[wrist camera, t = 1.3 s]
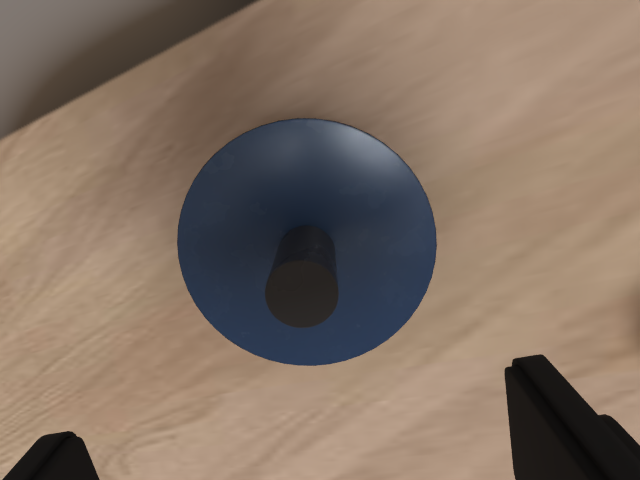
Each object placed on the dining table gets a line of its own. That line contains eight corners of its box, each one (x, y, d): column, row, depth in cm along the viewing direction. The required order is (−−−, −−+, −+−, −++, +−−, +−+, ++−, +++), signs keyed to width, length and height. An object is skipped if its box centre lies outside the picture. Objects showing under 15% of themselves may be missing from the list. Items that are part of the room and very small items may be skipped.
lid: (320, 58, 21) (318, 36, 15) (480, 258, 24) (537, 311, 18) (132, 233, 24) (62, 279, 18) (297, 395, 27) (289, 484, 20)
